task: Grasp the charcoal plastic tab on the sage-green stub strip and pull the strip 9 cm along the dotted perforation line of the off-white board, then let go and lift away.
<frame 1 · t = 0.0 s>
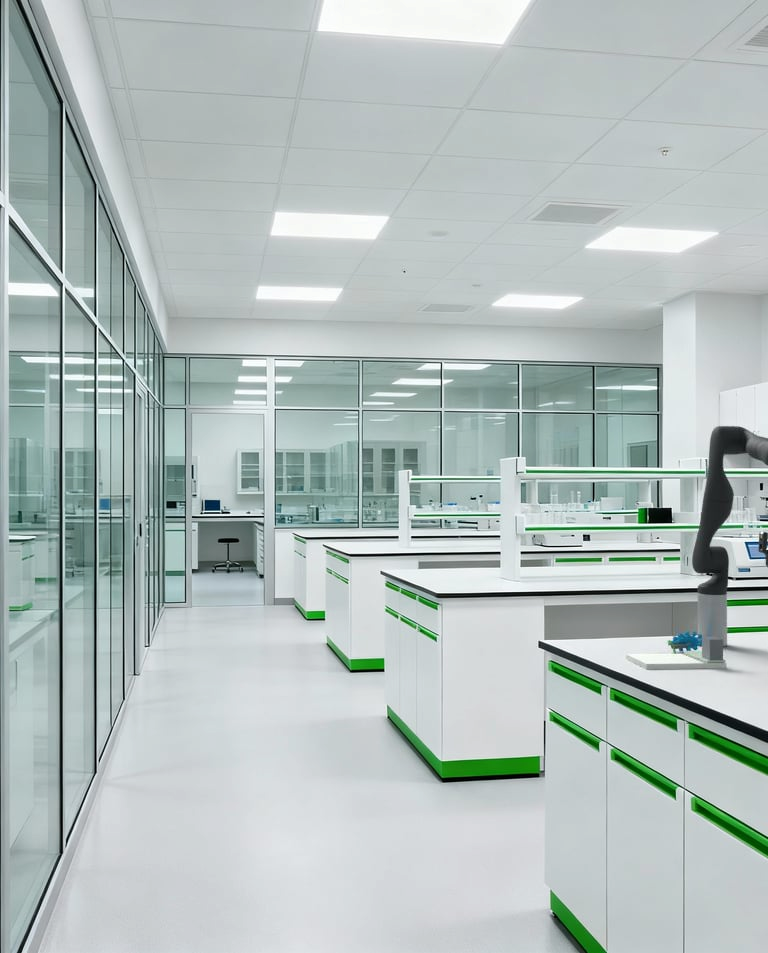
ticket board: (674, 663, 257), on the table
stub: (703, 646, 258), point 5 cm above the table, slide at 0.0 cm
gear: (685, 654, 275), on the table
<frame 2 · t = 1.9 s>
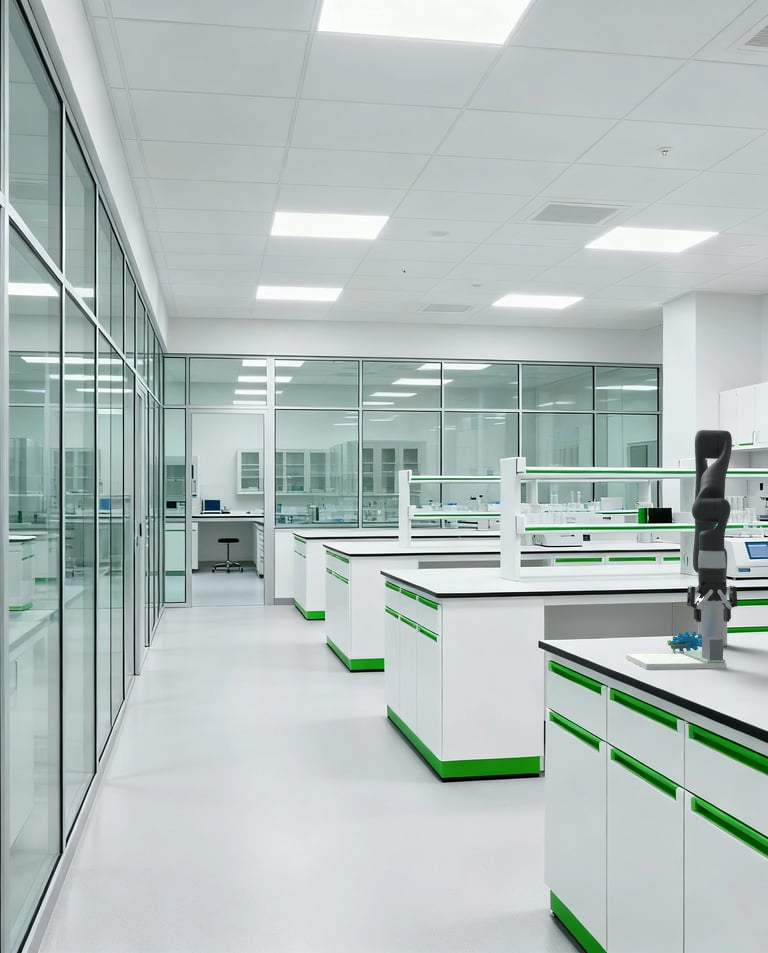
hand: (712, 621, 253), 13 cm above the table, fingers open, 8 cm apart
nothing on the table moved.
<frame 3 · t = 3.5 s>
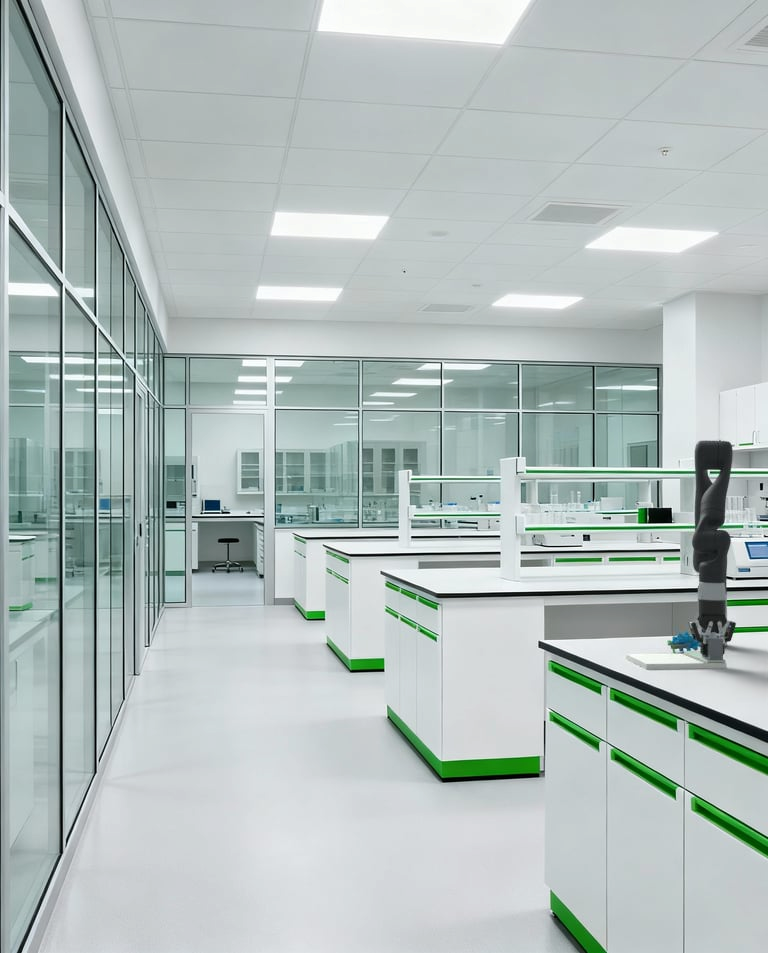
hand: (712, 656, 252), 3 cm above the table, fingers closed on stub, 4 cm apart
stub: (703, 646, 258), point 5 cm above the table, slide at 0.0 cm, touching gripper
everything else where it was.
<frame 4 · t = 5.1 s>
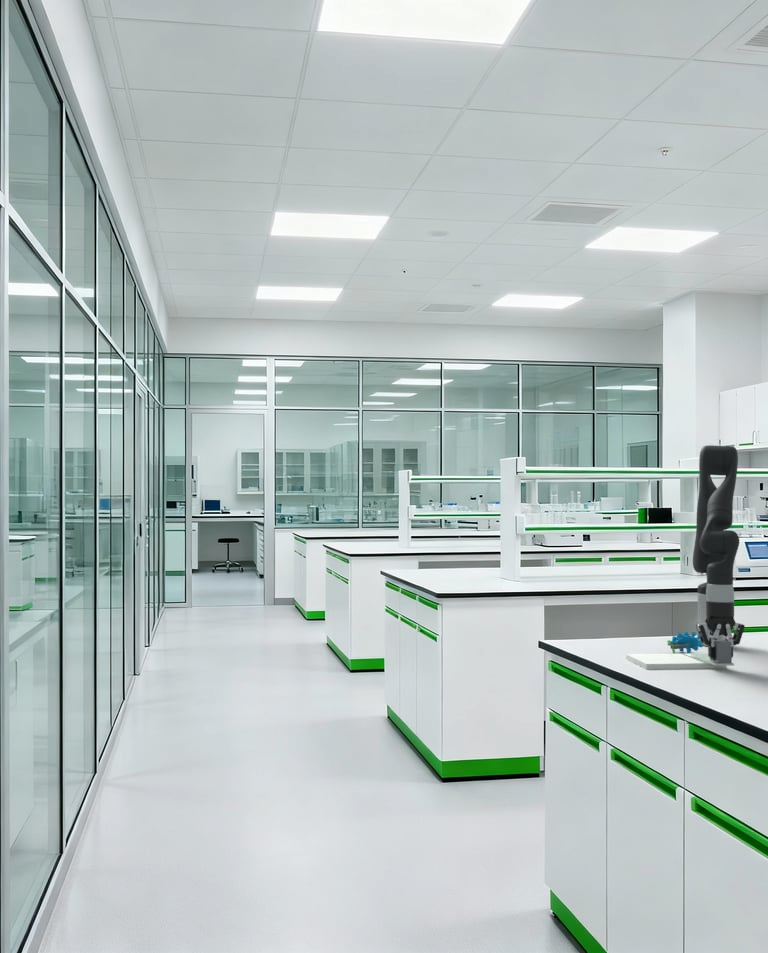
hand: (720, 659, 247), 3 cm above the table, fingers closed on stub, 4 cm apart
stub: (711, 649, 253), point 5 cm above the table, slide at 5.1 cm, touching gripper
everything else where it was.
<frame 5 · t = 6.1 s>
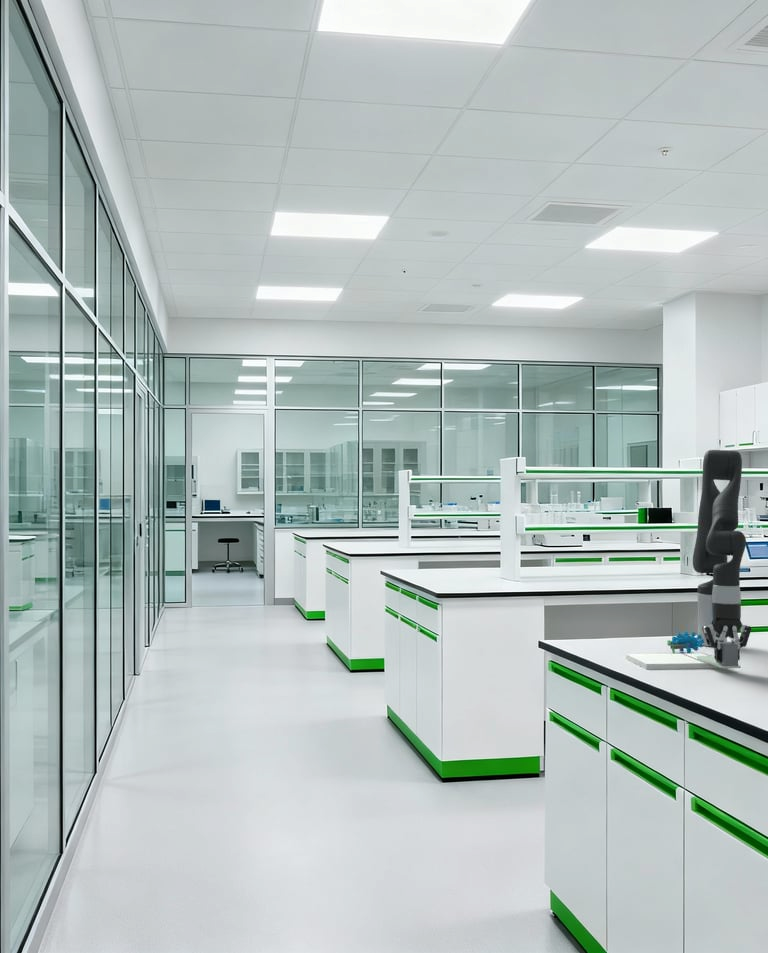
hand: (726, 661, 243), 3 cm above the table, fingers closed on stub, 4 cm apart
stub: (717, 651, 249), point 5 cm above the table, slide at 8.9 cm, touching gripper
everything else where it was.
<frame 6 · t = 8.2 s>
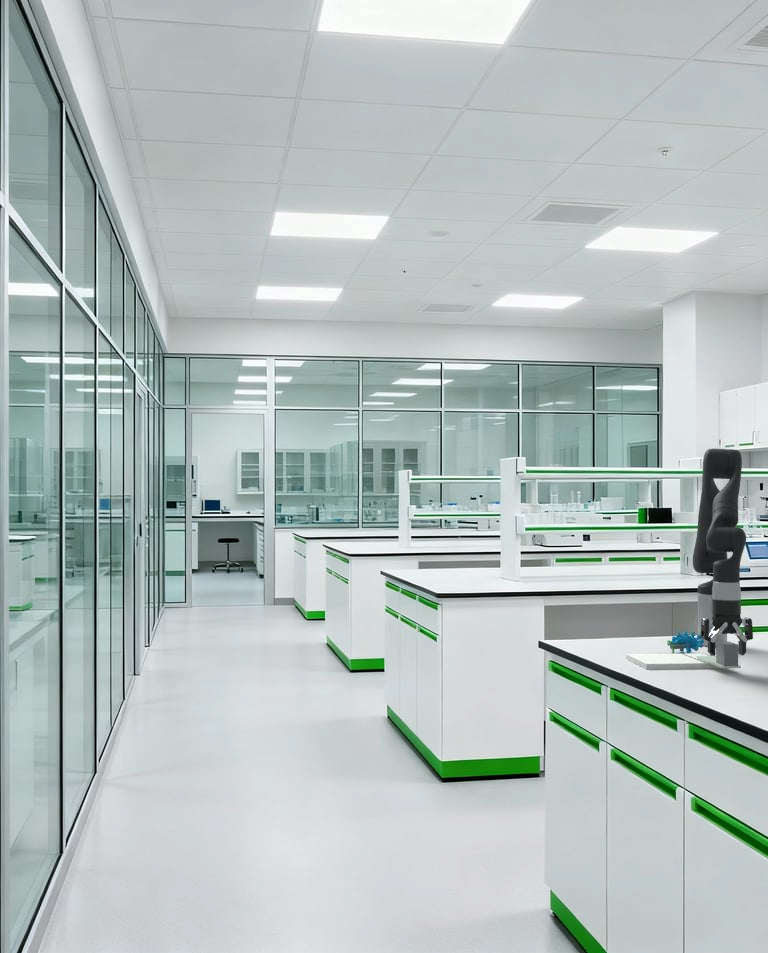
hand: (726, 655, 244), 5 cm above the table, fingers open, 8 cm apart
stub: (717, 651, 249), point 5 cm above the table, slide at 8.9 cm
everything else where it was.
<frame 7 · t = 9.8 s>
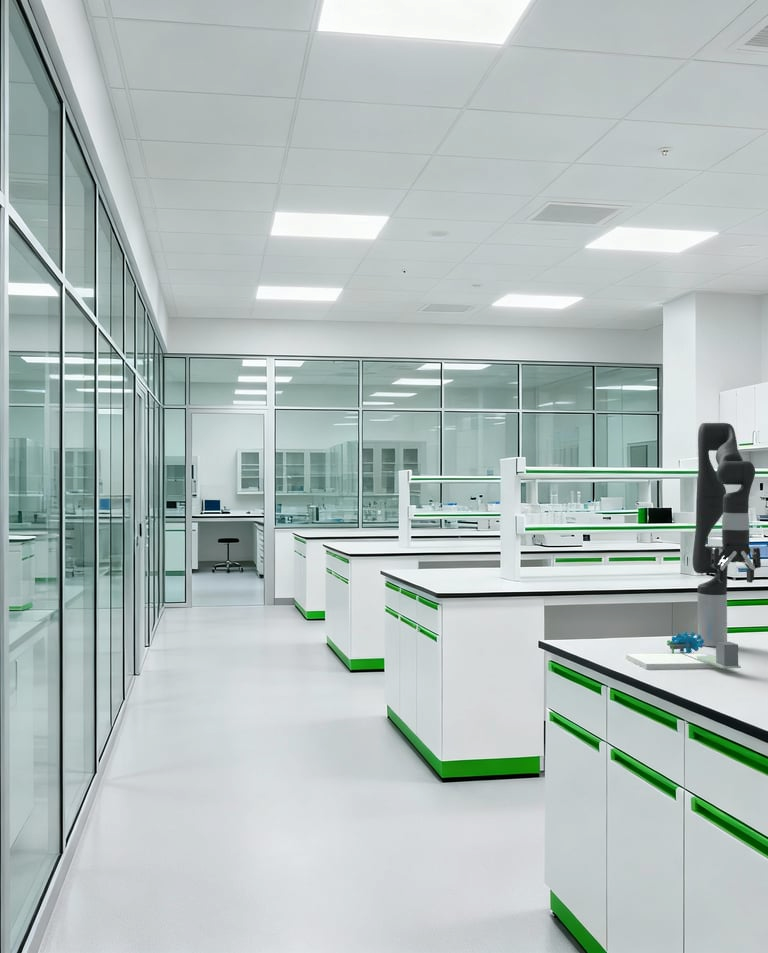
hand: (735, 582, 256), 24 cm above the table, fingers open, 8 cm apart
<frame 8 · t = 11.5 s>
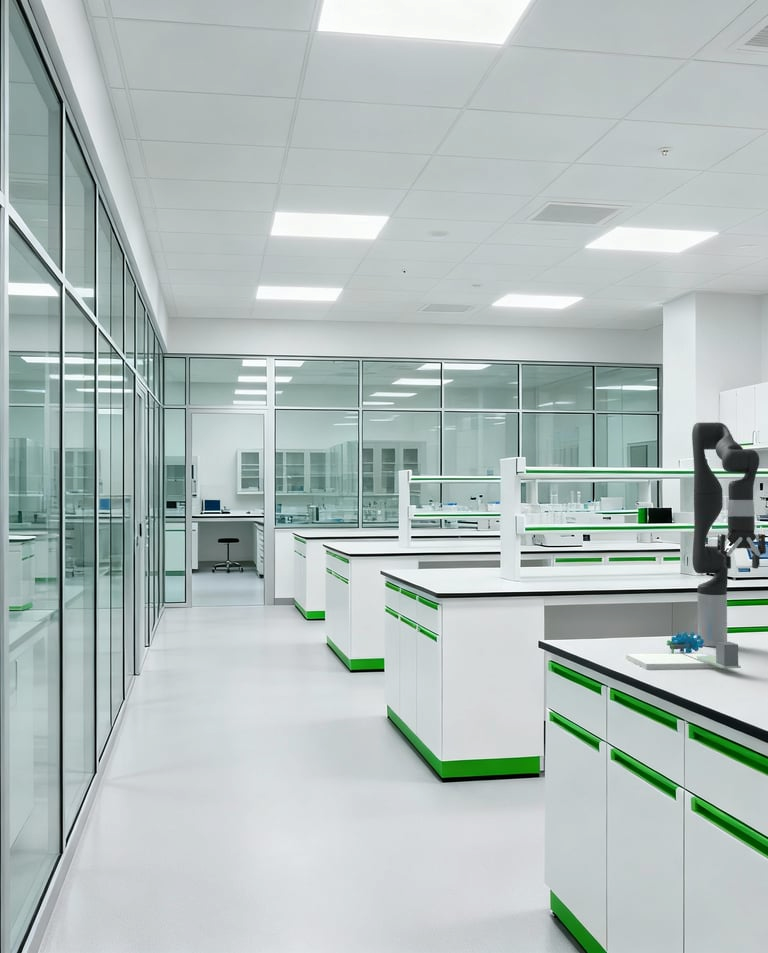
hand: (741, 568, 262), 28 cm above the table, fingers open, 8 cm apart
at the end: stub slide at 8.9 cm; the gripper is holding nothing; gear moved 1.4 cm from its start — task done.
